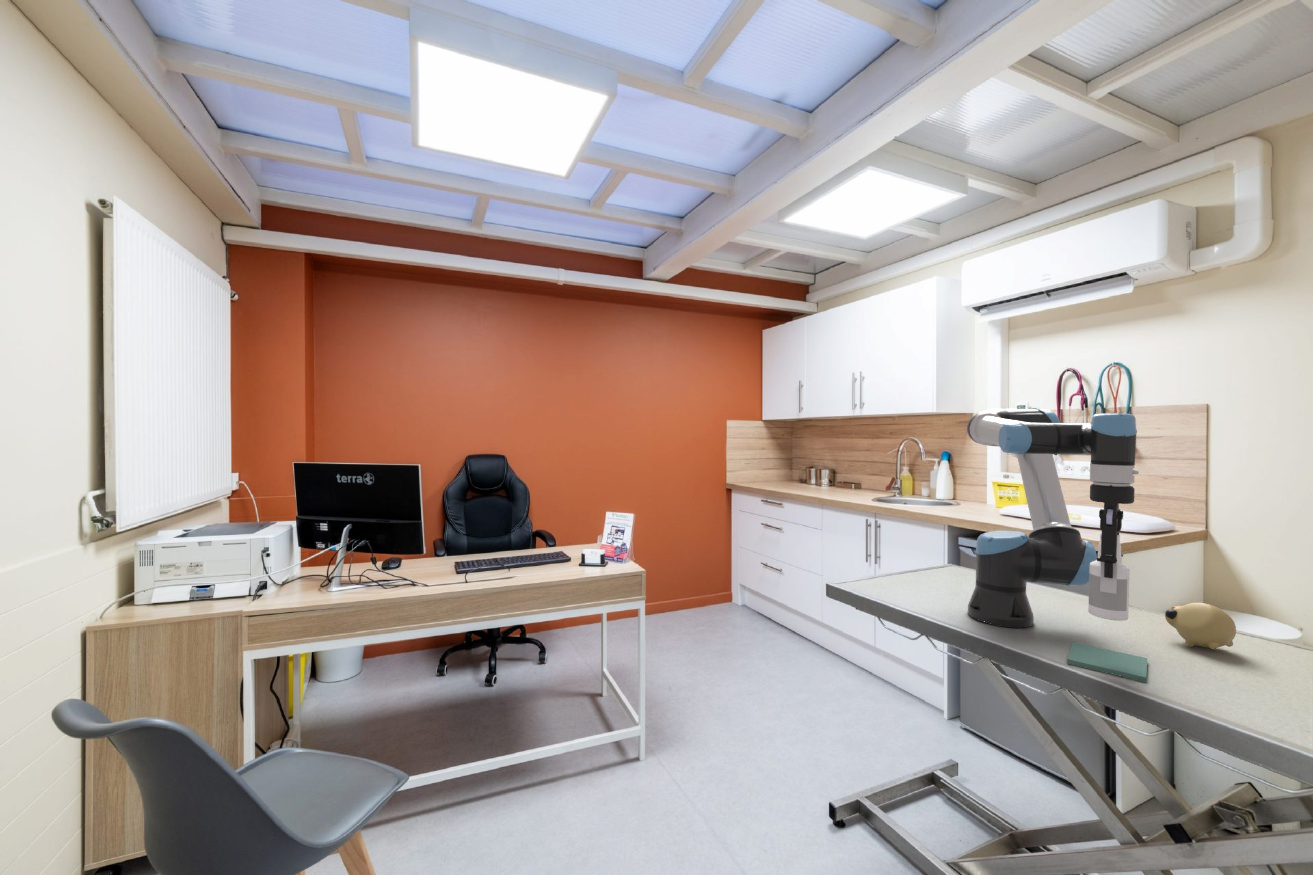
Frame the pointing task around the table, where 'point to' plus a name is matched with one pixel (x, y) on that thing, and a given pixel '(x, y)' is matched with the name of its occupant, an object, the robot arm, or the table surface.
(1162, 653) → the table surface
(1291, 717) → the table surface
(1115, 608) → the spray bottle
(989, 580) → the robot arm
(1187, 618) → the toy pig
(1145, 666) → the mat
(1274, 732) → the table surface
